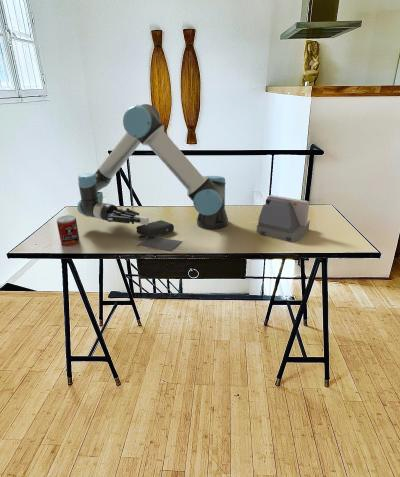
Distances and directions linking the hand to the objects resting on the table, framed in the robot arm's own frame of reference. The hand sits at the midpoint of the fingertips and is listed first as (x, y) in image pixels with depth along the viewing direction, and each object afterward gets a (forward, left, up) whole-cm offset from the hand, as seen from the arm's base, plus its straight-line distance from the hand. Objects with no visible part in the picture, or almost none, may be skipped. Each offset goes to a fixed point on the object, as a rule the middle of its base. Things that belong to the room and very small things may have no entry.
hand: (147, 221), depth 143 cm
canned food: (+33, +11, -10) cm, 36 cm away
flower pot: (+51, -29, -10) cm, 59 cm away
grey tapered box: (-51, -33, -10) cm, 61 cm away
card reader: (+5, -3, -7) cm, 10 cm away
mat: (-4, -1, -10) cm, 11 cm away
